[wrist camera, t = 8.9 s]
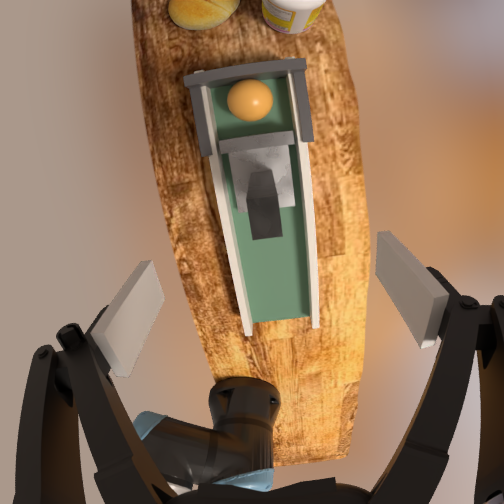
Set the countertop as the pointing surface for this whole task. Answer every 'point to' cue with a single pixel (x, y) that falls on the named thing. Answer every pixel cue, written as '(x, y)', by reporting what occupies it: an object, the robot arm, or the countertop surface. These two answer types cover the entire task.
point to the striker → (261, 178)
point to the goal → (248, 71)
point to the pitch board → (292, 218)
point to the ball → (250, 100)
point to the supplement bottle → (291, 14)
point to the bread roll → (201, 12)
